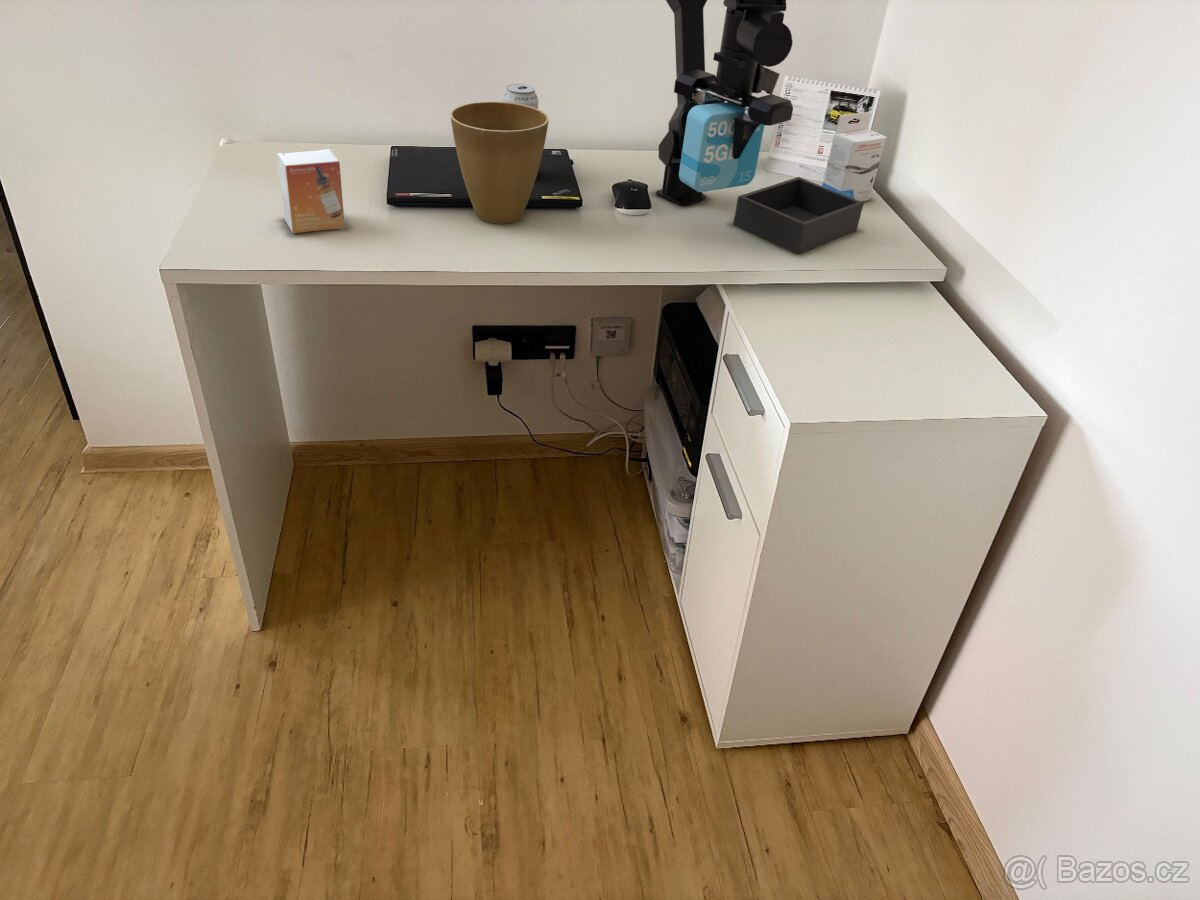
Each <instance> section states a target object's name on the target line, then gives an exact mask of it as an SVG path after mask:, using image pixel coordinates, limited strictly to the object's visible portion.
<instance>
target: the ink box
mask: <svg viewBox="0 0 1200 900" xmlns="http://www.w3.org/2000/svg"><path fill="white" fill-rule="evenodd" d="M871 112H872V111H871ZM871 112H870V111H865V112H863V111H862V112H856V113H848V114H841V115H840V116H839V118H838V122H837V125H836V129H835V133H834V134H833V139H832V143H831V147H830V150H829V155H828V159H827V164H826V167H825V172H824V176H823V180H822V184H821V186H823V187H825V188H828V189H830V190H833V191H835V192H838V193H840V194H843V195H845V196H848V197H850V198H853V199H855V200H858V201H860V202H865V201H866V202H867V201H870V197H871V194H872V191H873V187H874V184H875V180H876V176H877V173H878V169H879V167H880V163H881V159H882V155H883V152H884V148H885V145H886V141H887V136H886V135H883V134H881V133H879V132H876V131H874V130H872V129H870V128H869V123H870V121H871V118H872V114H871ZM854 119H855V120H856V121H857V120H859V121H858V122H855V123H849V122H850V121H853V120H854Z"/></svg>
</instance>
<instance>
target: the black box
mask: <svg viewBox="0 0 1200 900" xmlns="http://www.w3.org/2000/svg"><path fill="white" fill-rule="evenodd" d="M864 204H865V203H864V201H861V202H860V201H858V200H855V199H853V198H850V197H848V196H845V195H843V194H840V193H838V192H835V191H833V190H830V189H828V188H825V187H823V186H822V185H821V184H818V183H815V182H812V181H810V180H807V179H804V178H802V177H800V176H797V177H793V178H790V179H787V180H784V181H781V182H778V183H774V184H772V185H769V186H766V187H762V188H759V189H756V190H753V191H750V192H747V193H744V194H741V195H738V196H737V202H736V207H735V211H734V218H733V222H732V225H733V226H735V227H738V228H739V229H742V230H744V231H746V232H748V233H750V234H752V235H755V236H757V237H759V238H761V239H763V240H766V241H768V242H770V243H772V244H774V245H777V246H779V247H780V248H781V247H782V248H783V249H786V250H788V251H790V252H792V253H795V254H797V255H800V254H802V253H805V252H808V251H810V250H813V249H815V248H817V247H820V246H822V245H825V244H827V243H830V242H832V241H836V240H837V239H840V238H842V237H845V236H848V235H850V234H852V233H855V232H857V230H858V226H859V222H860V219H861V215H862V212H863V208H864Z"/></svg>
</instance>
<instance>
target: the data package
mask: <svg viewBox="0 0 1200 900" xmlns="http://www.w3.org/2000/svg"><path fill="white" fill-rule="evenodd" d="M744 111H745V108H744V107H741V106H738V105H735V104H732V103H730V102H727V101H725V102H724V103H715V104H706V105H697V106H694V107H693V108H692V109H691V110H690V111H689V113H688V116H687V122H686V129H685V136H684V143H683V149H682V156H681V163H680V170H679V178H680V180H681V181H682V182H683V183H685V184H686V185H688V186H690V187H691V188H693V189H694V190H696V191H698V192H702V193H705V192H711V191H717V190H724V189H730V188H736V187H742V186H747V185H749V184H750V183H751V182H752V181H753V179H755V175H756V171H757V166H758V160H759V156H760V149H761V145H762V140H763V135H764V130H765V126H766V125H763V124H760V125H759V126H758V127H757V129H756V130H755V132H754V133H753V135H752V136H751V138H750V140H749V142H748V143H747V145H746V147H745V149H744V150H743V152H742V154H741V156H740V157H739V158H738V159H734V158H733V140H734V123H735V117H737V116H741V115H744Z"/></svg>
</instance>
